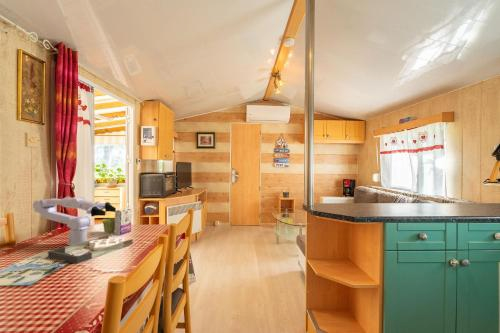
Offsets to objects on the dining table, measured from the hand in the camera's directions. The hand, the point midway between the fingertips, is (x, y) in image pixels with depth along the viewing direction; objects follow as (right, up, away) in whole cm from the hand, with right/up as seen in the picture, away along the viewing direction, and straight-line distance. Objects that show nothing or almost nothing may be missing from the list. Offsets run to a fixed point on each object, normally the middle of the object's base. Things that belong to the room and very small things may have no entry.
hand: (110, 211), depth 150 cm
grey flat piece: (-5, -20, -1) cm, 21 cm away
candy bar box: (-8, -21, +32) cm, 39 cm away
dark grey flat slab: (-11, -20, -17) cm, 29 cm away
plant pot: (-18, -20, +34) cm, 43 cm away
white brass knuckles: (-3, -21, +3) cm, 22 cm away
